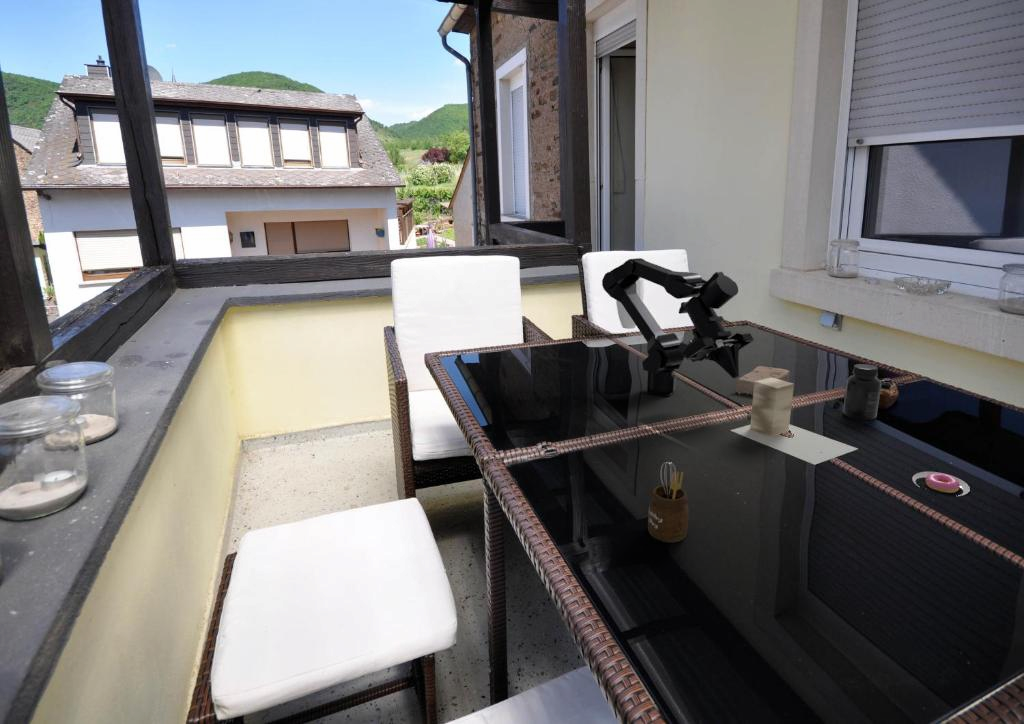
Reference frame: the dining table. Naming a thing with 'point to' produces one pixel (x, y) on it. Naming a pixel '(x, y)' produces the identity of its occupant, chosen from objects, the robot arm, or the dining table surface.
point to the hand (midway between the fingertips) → (736, 377)
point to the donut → (942, 482)
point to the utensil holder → (668, 511)
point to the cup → (623, 314)
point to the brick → (760, 378)
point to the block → (771, 406)
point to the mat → (800, 444)
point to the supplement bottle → (862, 393)
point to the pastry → (886, 395)
